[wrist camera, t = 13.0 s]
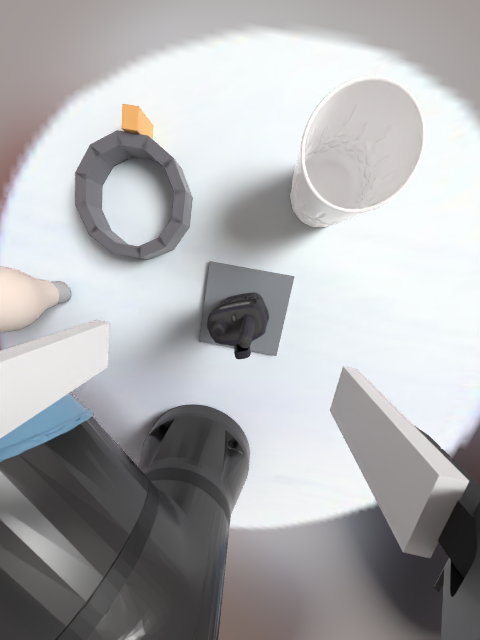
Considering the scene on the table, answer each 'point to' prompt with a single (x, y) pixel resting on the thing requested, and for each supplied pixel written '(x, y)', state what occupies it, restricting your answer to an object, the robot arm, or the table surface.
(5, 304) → the light bulb
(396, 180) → the white cup
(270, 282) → the mat
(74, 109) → the table surface
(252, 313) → the two-way radio
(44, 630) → the robot arm
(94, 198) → the dock collar
